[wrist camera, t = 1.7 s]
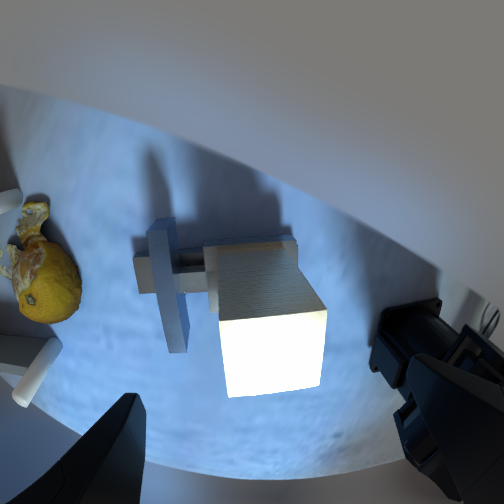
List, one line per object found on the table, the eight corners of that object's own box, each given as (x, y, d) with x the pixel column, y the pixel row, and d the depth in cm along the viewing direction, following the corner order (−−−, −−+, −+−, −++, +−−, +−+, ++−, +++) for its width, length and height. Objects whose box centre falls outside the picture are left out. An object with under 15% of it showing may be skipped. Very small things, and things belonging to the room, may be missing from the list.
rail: (294, 240, 18) (298, 245, 18) (293, 275, 19) (297, 281, 18) (136, 252, 18) (132, 258, 17) (142, 287, 18) (139, 293, 17)
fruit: (36, 184, 15) (5, 192, 12) (112, 270, 18) (92, 294, 14) (-6, 260, 16) (-33, 277, 13) (58, 333, 19) (39, 359, 16)
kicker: (290, 208, 16) (352, 257, 9) (290, 316, 19) (331, 408, 11) (157, 218, 16) (107, 276, 8) (174, 325, 18) (156, 425, 10)
